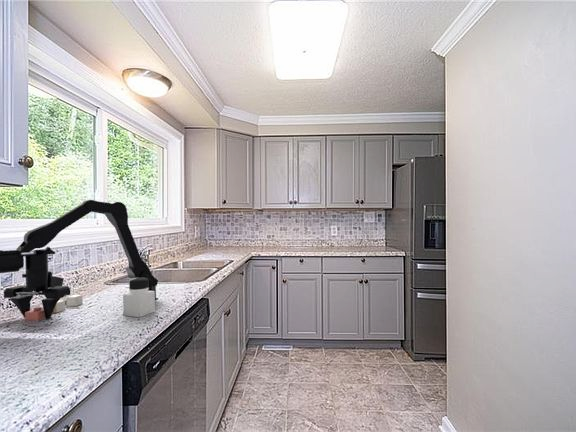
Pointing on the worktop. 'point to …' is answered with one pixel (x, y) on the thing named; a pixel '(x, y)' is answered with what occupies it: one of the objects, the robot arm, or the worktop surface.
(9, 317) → the worktop surface
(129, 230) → the robot arm
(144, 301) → the medicine bottle
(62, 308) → the matte white cube
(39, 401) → the worktop surface
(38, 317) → the cap
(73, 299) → the white square block
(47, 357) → the worktop surface
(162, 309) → the worktop surface
